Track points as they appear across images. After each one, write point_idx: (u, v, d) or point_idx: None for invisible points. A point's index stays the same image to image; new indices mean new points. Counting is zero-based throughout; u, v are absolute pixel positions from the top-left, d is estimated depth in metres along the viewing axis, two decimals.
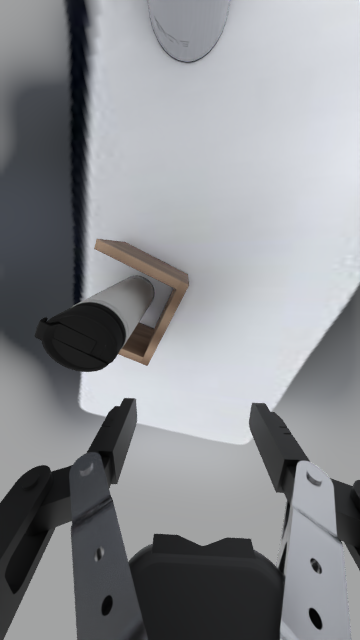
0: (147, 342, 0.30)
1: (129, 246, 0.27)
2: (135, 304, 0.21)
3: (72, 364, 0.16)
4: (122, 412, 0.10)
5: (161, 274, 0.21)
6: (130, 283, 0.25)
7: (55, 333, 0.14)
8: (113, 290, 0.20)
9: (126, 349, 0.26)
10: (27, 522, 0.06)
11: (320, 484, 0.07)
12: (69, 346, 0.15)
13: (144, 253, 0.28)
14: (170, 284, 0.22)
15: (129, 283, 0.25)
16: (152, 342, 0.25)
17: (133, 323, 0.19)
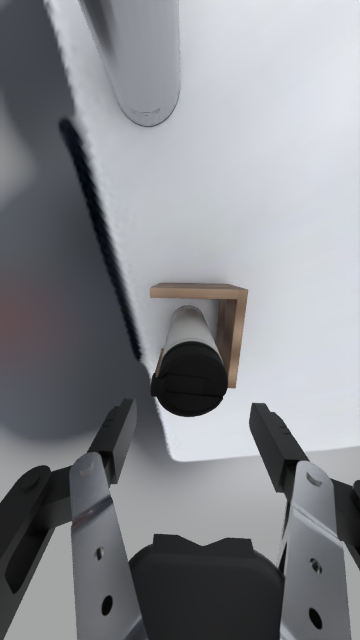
0: None
1: None
2: (206, 330, 0.20)
3: (188, 411, 0.15)
4: (122, 412, 0.10)
5: (217, 291, 0.21)
6: (186, 314, 0.25)
7: (165, 385, 0.14)
8: (182, 326, 0.20)
9: None
10: (27, 522, 0.06)
11: (320, 484, 0.07)
12: (181, 393, 0.14)
13: None
14: (229, 297, 0.21)
15: (185, 315, 0.25)
16: (232, 361, 0.23)
17: None
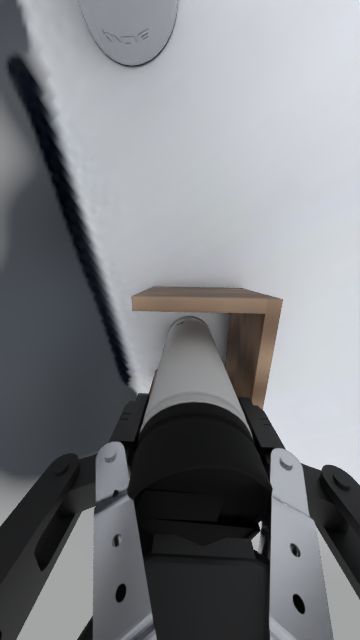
0: None
1: (163, 288, 0.21)
2: (218, 362, 0.13)
3: None
4: (138, 406, 0.10)
5: (235, 302, 0.14)
6: (186, 332, 0.18)
7: (141, 509, 0.07)
8: (180, 357, 0.13)
9: None
10: (56, 506, 0.06)
11: (291, 468, 0.07)
12: (173, 521, 0.07)
13: (182, 288, 0.21)
14: (253, 310, 0.14)
15: (185, 333, 0.17)
16: (254, 402, 0.16)
17: None
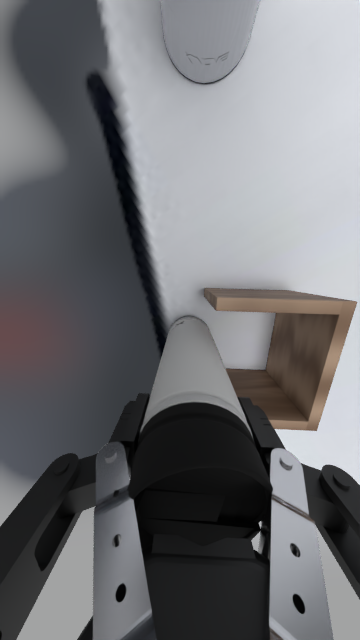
0: (283, 393, 0.22)
1: (219, 290, 0.22)
2: (218, 362, 0.13)
3: None
4: (138, 406, 0.10)
5: (313, 303, 0.15)
6: (186, 332, 0.18)
7: (141, 509, 0.07)
8: (180, 357, 0.13)
9: (280, 418, 0.18)
10: (56, 506, 0.06)
11: (291, 468, 0.07)
12: (174, 521, 0.07)
13: (236, 290, 0.23)
14: (328, 311, 0.15)
15: (185, 333, 0.17)
16: (318, 396, 0.17)
17: (237, 399, 0.11)
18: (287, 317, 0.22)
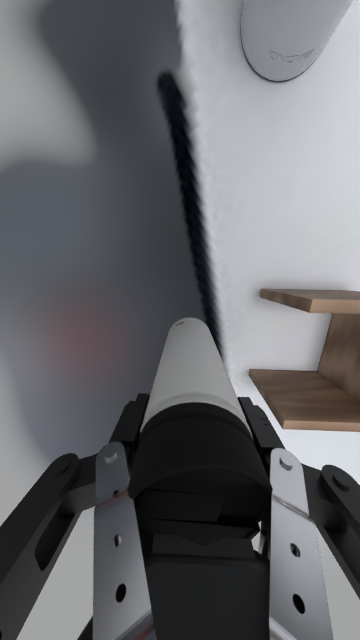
0: (348, 395, 0.22)
1: None
2: (218, 362, 0.13)
3: None
4: (138, 406, 0.10)
5: None
6: (186, 332, 0.18)
7: (141, 509, 0.07)
8: (180, 357, 0.13)
9: (358, 421, 0.18)
10: (56, 506, 0.06)
11: (291, 468, 0.07)
12: (174, 521, 0.07)
13: (298, 290, 0.22)
14: None
15: (185, 333, 0.17)
16: None
17: None
18: (351, 318, 0.22)
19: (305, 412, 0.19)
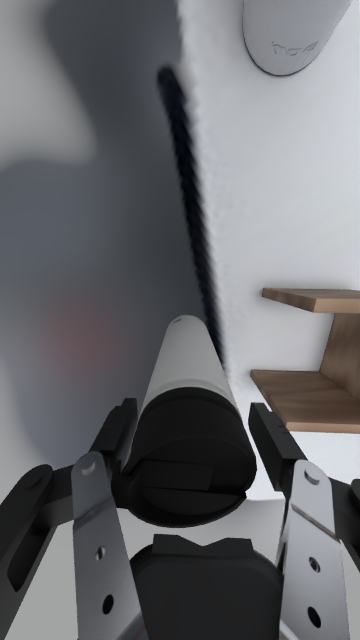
0: (351, 396, 0.22)
1: (285, 290, 0.21)
2: (212, 355, 0.14)
3: (183, 515, 0.08)
4: (123, 411, 0.10)
5: None
6: (183, 328, 0.18)
7: (141, 478, 0.08)
8: (177, 349, 0.14)
9: None
10: (29, 521, 0.06)
11: (318, 483, 0.07)
12: (170, 489, 0.08)
13: None
14: None
15: (182, 329, 0.18)
16: None
17: None
18: (354, 317, 0.22)
19: (308, 414, 0.19)
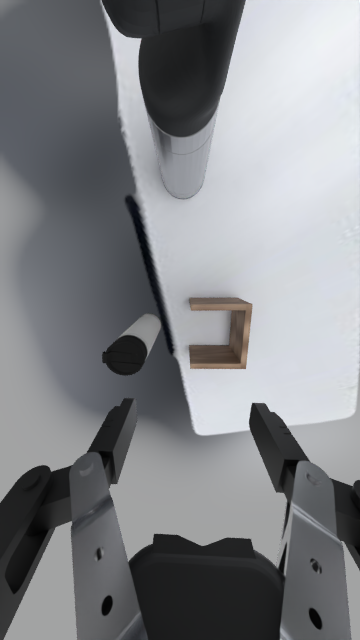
0: (234, 354, 0.41)
1: (196, 299, 0.41)
2: (146, 329, 0.33)
3: (125, 372, 0.28)
4: (122, 412, 0.10)
5: (233, 305, 0.33)
6: (140, 320, 0.38)
7: (111, 358, 0.27)
8: (131, 327, 0.33)
9: (227, 363, 0.37)
10: (27, 522, 0.06)
11: (320, 484, 0.07)
12: (120, 362, 0.27)
13: (206, 298, 0.41)
14: (240, 309, 0.33)
15: (140, 320, 0.38)
16: (243, 350, 0.36)
17: (149, 339, 0.31)
18: (234, 312, 0.41)
19: (203, 361, 0.38)
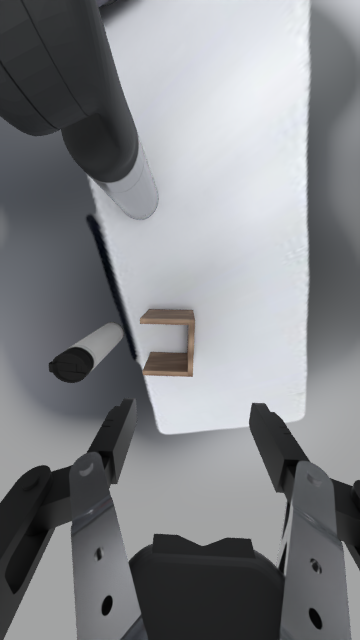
0: (186, 362, 0.45)
1: (153, 311, 0.44)
2: (99, 340, 0.37)
3: (71, 380, 0.31)
4: (122, 412, 0.10)
5: (178, 320, 0.37)
6: (98, 329, 0.41)
7: (57, 367, 0.30)
8: (85, 338, 0.37)
9: (176, 371, 0.41)
10: (27, 522, 0.06)
11: (320, 484, 0.07)
12: (66, 371, 0.31)
13: (162, 310, 0.45)
14: (184, 323, 0.37)
15: (98, 330, 0.41)
16: (189, 360, 0.40)
17: (98, 350, 0.35)
18: None
19: (155, 368, 0.42)
